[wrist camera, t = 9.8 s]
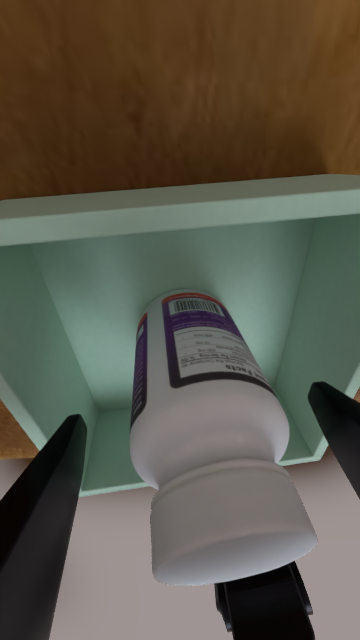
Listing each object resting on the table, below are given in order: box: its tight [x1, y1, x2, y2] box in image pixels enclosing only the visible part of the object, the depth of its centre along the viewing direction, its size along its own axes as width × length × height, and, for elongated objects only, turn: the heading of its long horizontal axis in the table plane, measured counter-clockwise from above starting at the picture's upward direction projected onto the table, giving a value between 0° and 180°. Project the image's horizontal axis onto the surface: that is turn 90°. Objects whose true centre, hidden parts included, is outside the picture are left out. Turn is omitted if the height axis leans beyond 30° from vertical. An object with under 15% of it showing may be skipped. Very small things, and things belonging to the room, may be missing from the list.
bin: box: [0, 174, 360, 497], centre depth 12 cm, size 14×14×6 cm
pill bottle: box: [130, 289, 317, 586], centre depth 10 cm, size 5×5×10 cm
